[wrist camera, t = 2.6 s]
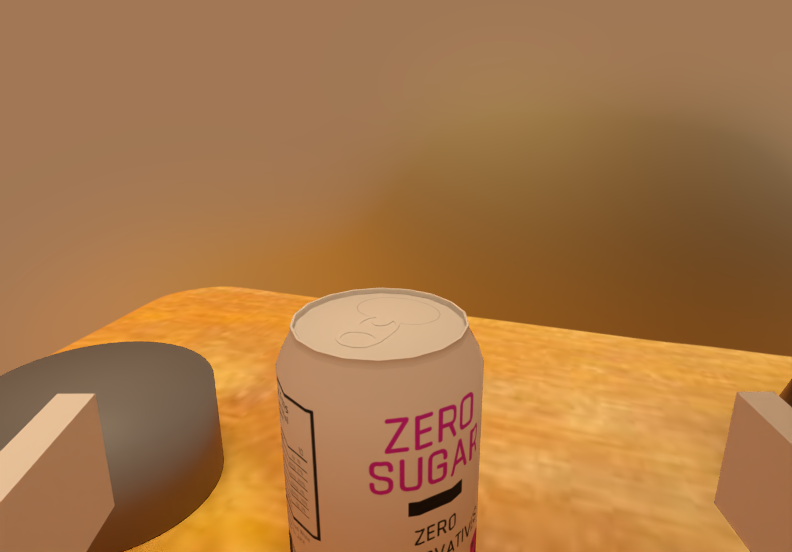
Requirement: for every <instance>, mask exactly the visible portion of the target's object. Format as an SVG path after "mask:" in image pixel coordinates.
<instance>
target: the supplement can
mask: <svg viewBox="0 0 792 552" xmlns="http://www.w3.org/2000/svg"><path fill="white" fill-rule="evenodd" d="M483 368H484V360H483V357H482V354H481V351H480V347H479V345H478V343H477V341H476V339H475V337H474V335H473V333H472V331H471V330H470V328H469V323H468V320H467V316H466V313H465V312H464V311H463V310H462V309H460V308H459V307H458V306H457V305H456V304H454V303H453V302H451V301H449V300H446V299H444V298H441V297H439V296H436V295H434V294H429V293H424V292H420V291H414V290H409V289H393V288H371V289H357V290H350V291H345V292H340V293H336V294H331V295H327V296H325V297H322V298H320V299H317V300H315V301H312V302H310V303H308V304H306V305H305V306H304V307H303V308H301V309H300V310H299V311H297V312H296V313H295V314H294V316H293V318H292V321H291V324H290V331H289V333H288V335H287V338H286V340H285V342H284V344H283V346H282V348H281V351H280V353H279V356H278V359H277V362H276V373H277V385H278V398H279V410H280V423H281V435H282V448H283V460H284V473H285V485H286V498H287V510H288V523H289V535H290V548H291V552H475V546H476V523H477V501H478V479H479V457H480V435H481V413H482V390H483Z"/></svg>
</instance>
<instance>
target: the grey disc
mask: <svg viewBox="0 0 792 552" xmlns="http://www.w3.org/2000/svg"><path fill="white" fill-rule="evenodd" d="M56 394H95V395H96V401H97V407H98V413H99V418H100V424H101V430H102V436H103V441H104V447H105V453H106V459H107V464H108V470H109V476H110V482H111V487H112V493H113V499H114V505H115V506H114V507H113V509H112V511H111V512H110V514H109V516H108V517H107V519H106V521H105V522H104V524H103V525H102V527H101V529H100V530H99V532H98V534H97V535H96V537H95V538H94V540H93V542H92V543H91V545H90V547H89V548H88V550H87V552H122V551H125V550H127V549H130V548H132V547H135V546H137V545H140V544H142V543H144V542H146V541H149V540H151V539H153V538H155V537H157V536H159V535H160V534H162V533H164V532H165V531H167V530H169V529H170V528H172V527H174V526H175V525H177V524H178V523H180V522H181V521H182V520H184V519H185V518H186V517H188V516H189V515H190V514H191V513H192V512H194V511H195V510H196V509H197V508H198V507H199V506H200V505H201V504H202V503H203V502H204V501H205V500H206V499H207V497H208V496H209V495H210V494H211V492H212V491H213V489H214V488H215V486H216V485H217V483H218V481H219V479H220V476H221V473H222V470H223V463H224V456H223V448H222V439H221V431H220V422H219V414H218V406H217V397H216V389H215V380H214V373H213V369H212V367H211V365H210V364H209V362H208V361H207V360H206V359H205V358H204V357H202V356H201V355H200V354H198V353H196V352H194V351H192V350H189V349H187V348H184V347H180V346H176V345H172V344H166V343H158V342H118V343H108V344H100V345H93V346H88V347H83V348H78V349H74V350H69V351H65V352H61V353H58V354H54V355H51V356H48V357H45V358H42V359H39V360H36V361H33V362H31V363H28V364H26V365H23V366H21V367H18V368H16V369H14V370H12V371H10V372H7V373H6V374H4V375H2V376H0V451H1V450H2V449H3V448H4V447H5V446H6V445H7V444H8V443H9V442H10V441H11V440H12V439H13V438H14V437H15V436H16V435H17V434H18V433H19V432H20V431H21V430H22V429H23V428H24V427H25V426H26V425H27V424H28V423H29V422H30V421H31V420H32V419H33V418H34V417H35V416H36V415H37V414H38V413H39V412H40V411H41V410H42V409H43V408H44V407H45V406H46V405H47V404H48V403H49V402H50V401H51V400H52V399H53V398H54V397H55V396H56Z"/></svg>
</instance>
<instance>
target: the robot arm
mask: <svg viewBox="0 0 792 552" xmlns="http://www.w3.org/2000/svg"><path fill="white" fill-rule="evenodd" d="M714 503H715V504H716V506H717V507H718V509H719V510H720V511H721V513H722V514H723V515H724V517H725V518H726V519H727V521H728V522H729V524H730V525H731V526H732V528H733V529H734V530H735V532H736V533H737V534H738V536H739V537H740V539H741V540H742V541H743V543H744V544H745V545H746V547H747V548H748V549H749V551H750V552H792V379H791V380H790V382H789V383H788V385H787V386H786V387H785V389H784V390H783V391H782V393H781V394H780V396H778V395H777V394H776V393H775V392H737V394H736V399H735V404H734V408H733V413H732V418H731V423H730V428H729V433H728V438H727V443H726V448H725V452H724V457H723V462H722V467H721V472H720V477H719V482H718V487H717V491H716V496H715V501H714ZM114 506H115V505H114V499H113V493H112V487H111V482H110V476H109V470H108V464H107V459H106V453H105V447H104V441H103V436H102V430H101V424H100V418H99V413H98V407H97V401H96V395H95V394H56V396H55V397H54V398H53V399H52V400H51V401H50V402H49V403H48V404H47V405H46V406H45V407H44V408H43V409H42V410H41V411H40V412H39V413H38V414H37V415H36V416H35V417H34V418H33V419H32V420H31V421H30V422H29V423H28V424H27V425H26V426H25V427H24V428H23V429H22V430H21V431H20V432H19V433H18V434H17V435H16V436H15V437H14V438H13V439H12V440H11V441H10V442H9V443H8V444H7V445H6V446H5V447H4V448H3V449H2V450H1V451H0V552H87V550H88V548H89V547H90V545H91V543H92V542H93V540H94V538H95V537H96V535H97V534H98V532H99V530H100V529H101V527H102V525H103V524H104V522H105V521H106V519H107V517H108V516H109V514H110V512H111V511H112V509H113V507H114Z"/></svg>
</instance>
